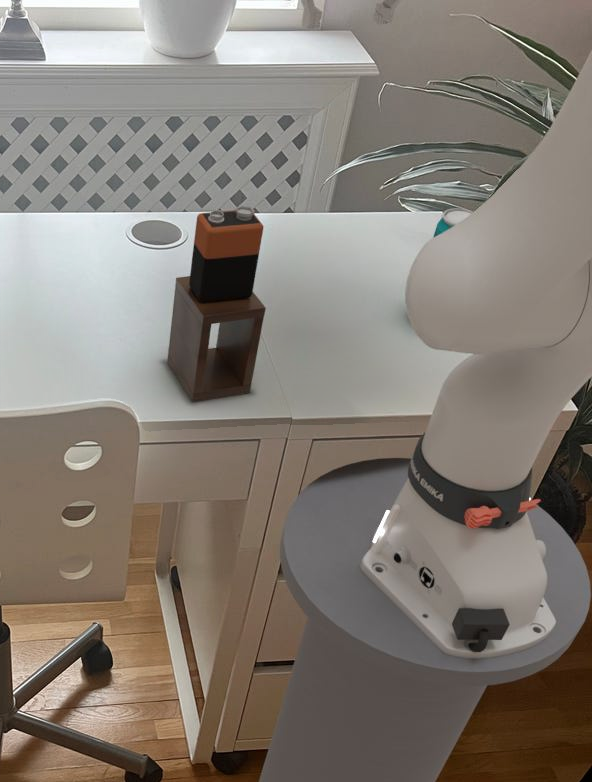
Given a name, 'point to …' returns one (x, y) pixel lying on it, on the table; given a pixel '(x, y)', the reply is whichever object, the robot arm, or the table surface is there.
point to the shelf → (233, 349)
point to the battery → (225, 254)
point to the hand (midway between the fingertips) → (346, 24)
